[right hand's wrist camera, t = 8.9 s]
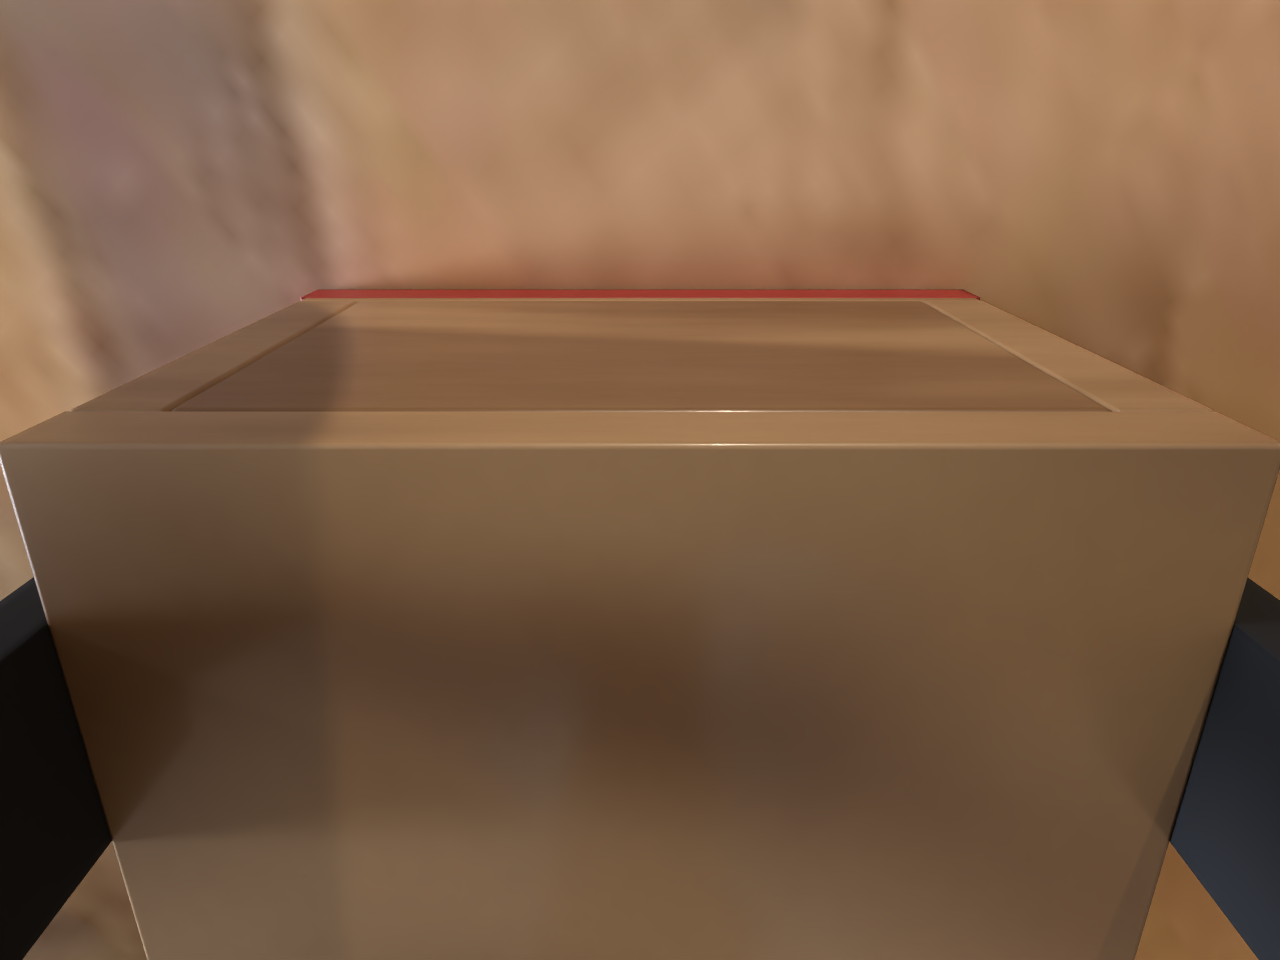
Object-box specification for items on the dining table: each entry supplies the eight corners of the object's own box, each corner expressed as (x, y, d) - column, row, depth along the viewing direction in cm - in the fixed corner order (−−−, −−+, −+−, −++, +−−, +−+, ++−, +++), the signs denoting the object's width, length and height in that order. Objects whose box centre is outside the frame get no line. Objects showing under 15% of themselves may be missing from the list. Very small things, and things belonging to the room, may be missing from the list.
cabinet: (855, 1072, 23) (962, 1543, 15) (425, 1072, 23) (317, 1543, 15) (962, 289, 15) (1292, 442, 8) (317, 289, 15) (-12, 441, 8)
